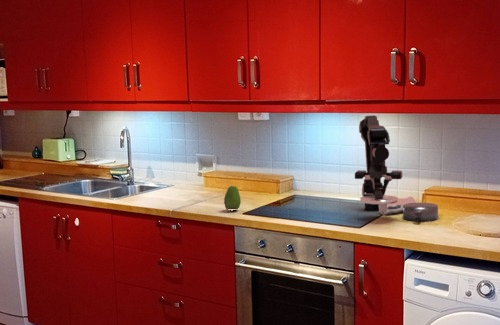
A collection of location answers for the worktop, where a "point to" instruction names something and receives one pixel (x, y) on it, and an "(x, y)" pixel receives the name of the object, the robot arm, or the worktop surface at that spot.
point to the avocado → (232, 198)
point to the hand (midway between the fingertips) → (378, 195)
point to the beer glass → (395, 206)
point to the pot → (420, 212)
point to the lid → (378, 198)
